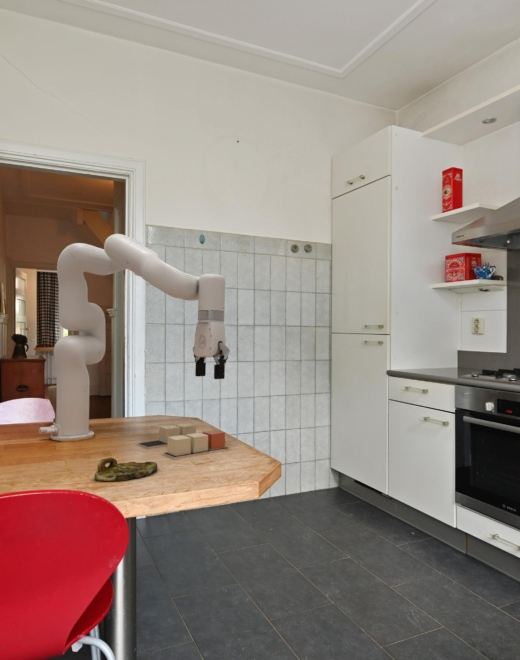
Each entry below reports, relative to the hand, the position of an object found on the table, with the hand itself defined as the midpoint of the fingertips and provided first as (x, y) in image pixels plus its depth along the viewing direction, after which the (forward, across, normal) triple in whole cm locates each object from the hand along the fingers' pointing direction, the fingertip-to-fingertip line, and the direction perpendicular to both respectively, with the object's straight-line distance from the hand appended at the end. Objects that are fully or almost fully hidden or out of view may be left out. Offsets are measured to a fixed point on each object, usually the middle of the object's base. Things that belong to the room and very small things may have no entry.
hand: (209, 377), depth 137 cm
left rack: (+20, -12, -6) cm, 24 cm away
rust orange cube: (+19, +3, 0) cm, 19 cm away
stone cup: (+21, -59, -21) cm, 66 cm away
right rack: (+20, +3, -6) cm, 21 cm away
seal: (+20, +12, -30) cm, 38 cm away
